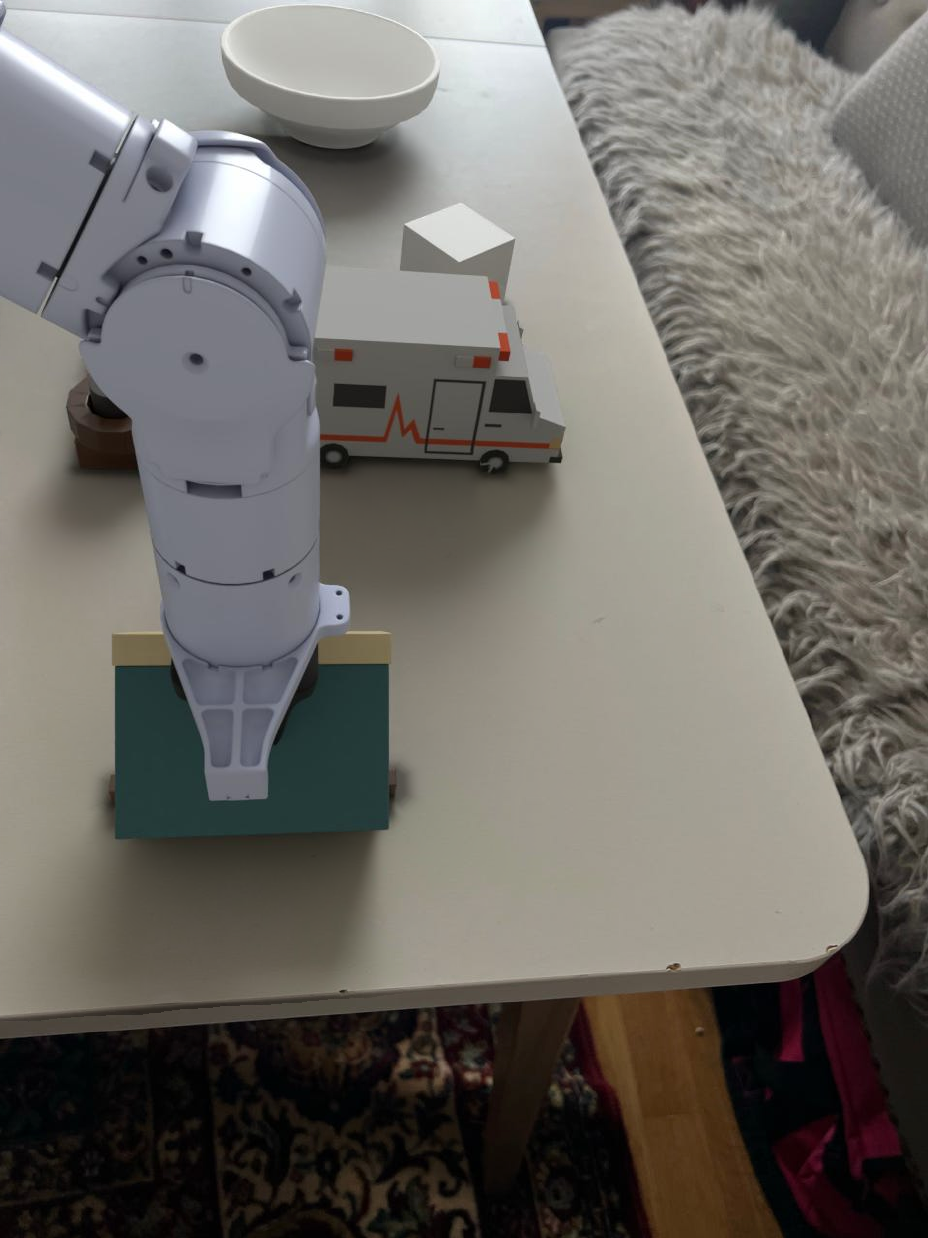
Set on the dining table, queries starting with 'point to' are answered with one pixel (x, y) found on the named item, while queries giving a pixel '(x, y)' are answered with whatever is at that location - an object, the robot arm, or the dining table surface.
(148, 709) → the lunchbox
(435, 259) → the white cube
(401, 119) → the bowl
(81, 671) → the dining table surface
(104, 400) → the button
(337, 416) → the toy vehicle
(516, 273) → the dining table surface
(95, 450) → the control box
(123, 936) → the dining table surface
